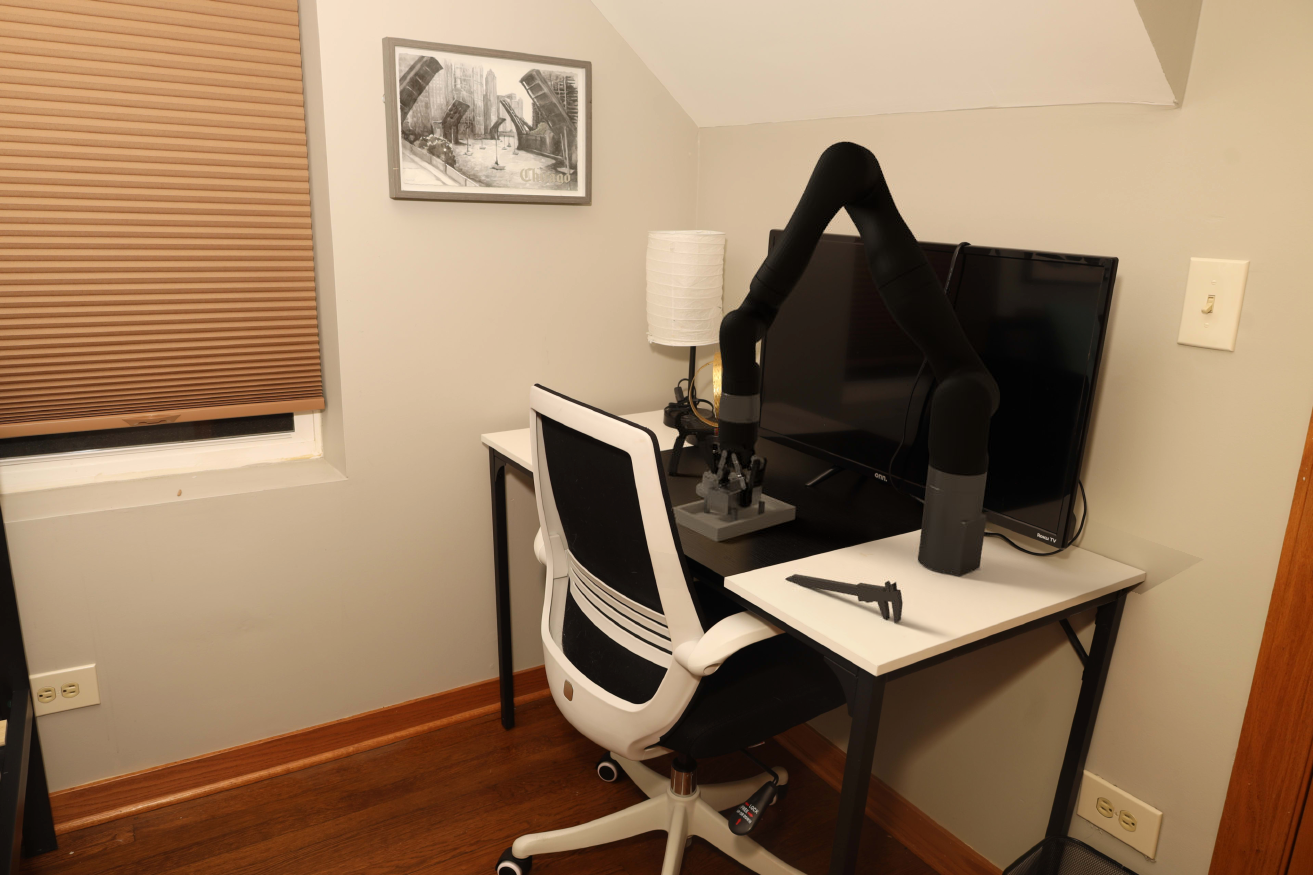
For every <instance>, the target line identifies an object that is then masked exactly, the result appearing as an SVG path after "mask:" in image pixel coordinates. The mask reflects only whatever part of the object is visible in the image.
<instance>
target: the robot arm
mask: <svg viewBox="0 0 1313 875" xmlns="http://www.w3.org/2000/svg"><path fill="white" fill-rule="evenodd" d="M842 208H844V210H845V212H846V214H848V216H849V218H850V219H851V221H852V223H853V225H854V226H855V228H856V230H857V232H858V234H859V236H860V238H861V242H862V245H863V249H864V252H865V256H866V257H865V258H866V262H867V266H868V269H869V272H870V275H871V278H872V280H873V283H874V286H875V288H876V290H877V291H878V294H879V295H880V298H881V299H882V301H883V303H884V305H885V307H886V308H887V310H888V312H889V313H890V316H891V317H892V318H893V320H894V321H895V322H896V324H898V326H899V327H900V329H902V331H903V332H904V333H905V334H906V336H907V337H908V338H909V339H911V341H912V342H913V343H915V345H916V346H917V347H918V348H919V349H920V351H921V352H922V354H923V356H924V357H925V358H926V359H927V360H926V361H928V364H929V365H930V367H931V370H932V372H933V374H934V376H935V379H936V381H937V384H938V386H937V387H936V389H935V391H934V393H933V395H932V396H933V397H932V401H931V405H930V406H931V407H930V408H931V409H930V417H929V426H928V427H929V428H928V429H929V430H928V439H927V448H928V453H929V460H928V467H927V468H928V469H927V475H926V476H927V477H926V483H925V484H926V485H925V494H924V495H925V496H924V503H923V512H922V513H923V514H922V520H921V527H920V528H921V529H920V537H919V546H918V554H917V561H918V562H919V564H921V566H923V567H925V568H927V569H929V570H931V571H935V572H938V573H943V574H950V575H951V574H952V575H955V576H957V577H960V576H964V575H966V574H968V573H970V572H973V571H975V570H978V569H980V567H981V559H982V554H983V546H984V539H985V531H986V524H987V515H986V514H983V505H984V504H983V503H984V500H985V499H984V497H985V489H986V482H987V477H988V476H987V475H988V468H989V461H990V460H989V459H990V456H989V454H988V453H989V452H988V442H989V434H990V426H991V425H990V424H991V418H992V417H993V415H994V414H996V411H997V410H998V409H999V406H1000V402H1001V401H1000V400H1001V394H1000V389H999V385H998V384H997V382H996V380H995V379H994V377H993V375H992V374H991V372H990V371H989V369H988V368H987V366H986V364H984V362H983V361H982V359H981V358H980V356H979V355H978V353H977V352H976V351H975V349H974V347H973V346H972V344H971V343H970V341H969V339H968V337H967V336H966V334H965V332H964V331H963V328H962V326H961V323H960V321H959V319H958V317H957V315H956V312H955V310H954V308H953V306H952V304H951V302H950V300H949V298H948V295H947V294H946V291H945V289H944V287H943V285H942V283H941V281H940V279H939V277H938V276H937V274H936V271H935V270H934V268H933V266H932V265H931V262H930V259H928V257H927V255H926V254H925V252H924V250H923V248H922V247H921V245H920V243H919V241H918V240H917V238H916V237H915V235H914V233H913V232H912V230H911V229H910V227H909V225H908V224H907V222H906V220H904V217H903V216H902V215H901V214H900V213H901V212H900V211H899V209H898V208H897V206H896V203H895V200H894V198H893V195H892V193H891V190H890V188H889V186H888V183H887V181H886V178H885V175H884V173H883V170H882V168H881V164H880V162H879V160H878V158H877V157H876V155H875V154H874V153H873V152H872V151H871V150H870V149H869V148H867V147H865V146H864V145H860V144H858V143H855V142H852V141H839V142H835V143H833V144H831V145H830V146H828V147H826V148H825V150H824V151H823V152H822V153H821V154H820V155H819V159H817V162H816V164H815V166H814V168H813V170H812V172H811V175H810V177H809V180H808V181H807V184H806V187H805V189H804V191H803V193H802V195H801V197H800V199H799V201H798V204H797V205H796V207H795V209H794V211H793V212H792V215H791V216H790V218H789V220H788V222H787V224H786V225H785V227H784V229H783V231H782V232H781V234H780V236H779V237H778V239H777V241H776V242H775V243H774V245H773V246H772V248H771V250H770V251H769V252H768V254H767V256H765V259H764V260H763V261H762V263H761V265H760V266H759V268H758V269H757V271H756V273H755V274H754V275H753V277H752V279H751V281H750V284H749V291H748V293H747V295H746V296H745V298H744V299H743V301H742V303H741V304H740V306H739V307H738V308H737V309H733V310H730V311H728V312H727V313H726V314H725V315H724V316H723V318H722V319H721V321H720V322H721V323H720V326H719V331H718V342H719V352H720V360H721V365H722V373H721V389H720V390H721V391H720V398H719V404H718V421H717V422H718V423H717V424H718V425H717V426H718V427H717V428H718V436H717V439H718V440H719V441H714V442H711V443H708V448H709V459H710V468H709V471H710V470H711V473H712V474H715V475H717V479H718V485H720V484H723V483H726V482H729V481H730V479H729V478H728V477H730V475H731V472H733V470H734V471H735V473H736V474H737V477H739V479H740V483H741V487H742V488H741V495H740V507H742V508H745V507H749V506H750V505H751V503H752V494H753V488H756V487H760V486H762V487H763V483H764V476H765V473H766V468H767V465H768V464H767V463H768V459H767V457H766V456H765V457H760V456H758V455H757V453H756V448H755V446H756V444H757V442H758V440H759V431H760V430H759V429H760V428H759V427H760V414H761V412H760V411H761V410H760V409H761V401H760V400H761V398H760V390H761V388H760V387H761V366H760V364H759V363H758V362H757V343H759V342H761V340H762V339H763V338H764V337H765V336H766V335H767V333H768V332H769V330H770V328H771V327H772V325H773V323H774V321H775V320H776V318H777V316H778V314H779V313H780V310H781V307H782V306H783V304H784V303H785V301H786V300H788V298H789V296H790V294H792V292H793V291H794V290H795V287H796V286H797V285H798V283H799V281H800V280H801V279H802V278H803V275H804V274H805V272H806V270H807V268H808V266H809V264H810V262H811V261H812V258H813V255H814V253H815V250H816V248H817V246H818V244H819V241H820V240H821V238H822V236H823V234H824V232H825V230H826V229H827V227H829V225H830V223H831V222H832V220H833V219H834V217H835V216H836V215H837V214H838V213H839V212H840V211H841V209H842ZM716 462H717V463H718V467H716ZM744 470H746V471H744ZM746 477H747V478H746ZM746 479H748V482H746Z"/></svg>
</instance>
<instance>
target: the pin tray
mask: <svg viewBox="0 0 1313 875" xmlns="http://www.w3.org/2000/svg"><path fill="white" fill-rule="evenodd" d="M672 508H673V509H674V513H675V517H676V522H675V523H677V524H678V525H681V526H683V527H685V528H687V529H689V530H692V531H694V532H696V533H698V534H700V535H702V536H704V537H705V538H708V539H710V540H712V541H714V542H716V541H717V542H720V541H721V542H722V541H725V540H728V539H733V538H735V537H739V536H742V535H746V534H749V533H752V532H755V531H759V530H762V529H766V528H769V527H770V528H771V527H774V526H776V525H780V524H782V523H783V524H784V523H787V522H790V521H794V520H796V508H797V507H796V506H794V505H791V504H789V503H788V502H787V503H786V502H783V501H781V500H779V499H776V498H774V497H771V496H768V495H766V494H764V493H761V501H759V504H757V505H755V506H752V507H749V508H746V509H744V510H741V511H738V509H736V508H732V509H731V514H730V515H724V514H722V513H719V512H716V511H713V510H710V509H707V497H704V499H701V500H697V501H693V502H689V503H685V504H682V505H678V506H674V507H672ZM717 542H716V543H717Z"/></svg>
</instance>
